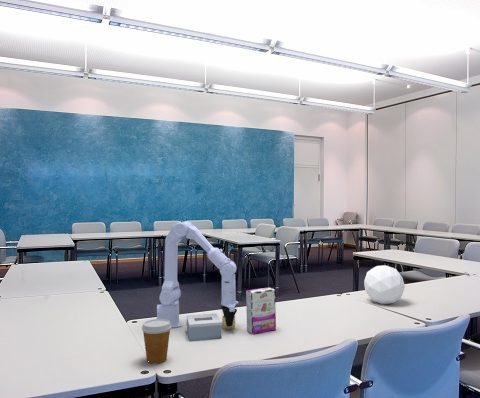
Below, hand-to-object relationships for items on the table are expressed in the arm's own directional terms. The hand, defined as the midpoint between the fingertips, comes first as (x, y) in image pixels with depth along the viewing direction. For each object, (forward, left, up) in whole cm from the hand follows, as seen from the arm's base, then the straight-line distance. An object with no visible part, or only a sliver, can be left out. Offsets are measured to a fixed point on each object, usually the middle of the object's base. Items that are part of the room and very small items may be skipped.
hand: (228, 324), depth 157 cm
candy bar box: (+12, -6, -2) cm, 14 cm away
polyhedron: (+85, +21, -2) cm, 88 cm away
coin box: (-11, -5, -1) cm, 12 cm away
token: (0, 0, -2) cm, 2 cm away
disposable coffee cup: (-29, -26, -2) cm, 39 cm away
